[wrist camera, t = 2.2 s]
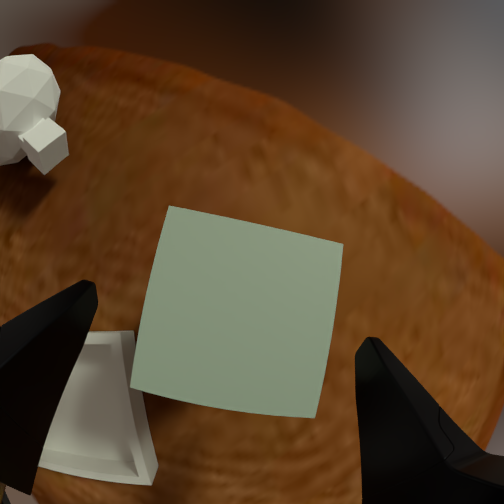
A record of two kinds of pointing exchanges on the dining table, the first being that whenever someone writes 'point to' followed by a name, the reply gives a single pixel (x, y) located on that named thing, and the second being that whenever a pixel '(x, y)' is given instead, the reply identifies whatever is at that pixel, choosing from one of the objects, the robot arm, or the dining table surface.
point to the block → (237, 315)
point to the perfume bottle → (30, 113)
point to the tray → (102, 417)
